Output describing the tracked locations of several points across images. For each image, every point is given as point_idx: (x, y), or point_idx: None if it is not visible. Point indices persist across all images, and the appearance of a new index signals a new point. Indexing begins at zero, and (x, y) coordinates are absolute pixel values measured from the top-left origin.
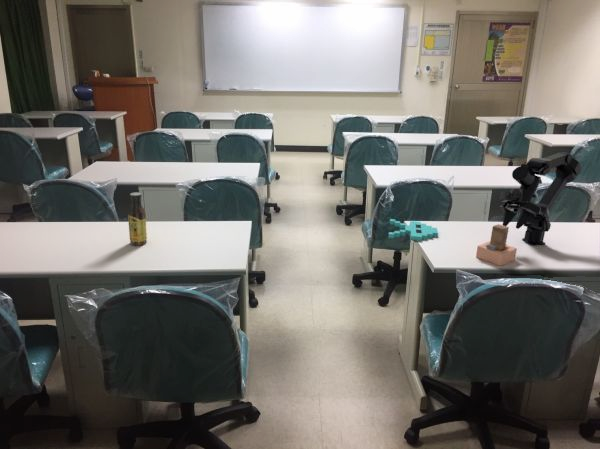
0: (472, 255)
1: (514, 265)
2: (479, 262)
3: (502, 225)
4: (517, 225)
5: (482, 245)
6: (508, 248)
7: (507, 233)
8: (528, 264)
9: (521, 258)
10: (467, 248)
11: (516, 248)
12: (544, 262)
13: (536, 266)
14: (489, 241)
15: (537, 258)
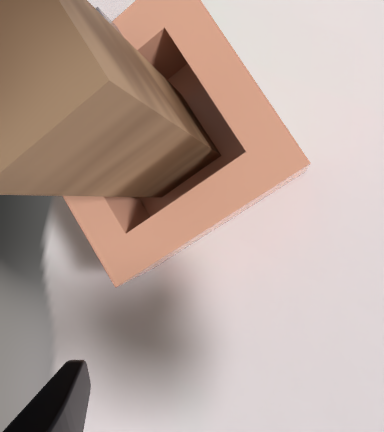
0: (231, 2)
1: (73, 217)
2: (118, 14)
3: (44, 122)
4: (42, 391)
5: (184, 13)
6: (115, 216)
7: (44, 190)
8: (84, 309)
9: (169, 324)
10: (376, 4)
11: (113, 282)
12: (108, 425)
13: (59, 338)
14: (280, 120)
15: (165, 427)
